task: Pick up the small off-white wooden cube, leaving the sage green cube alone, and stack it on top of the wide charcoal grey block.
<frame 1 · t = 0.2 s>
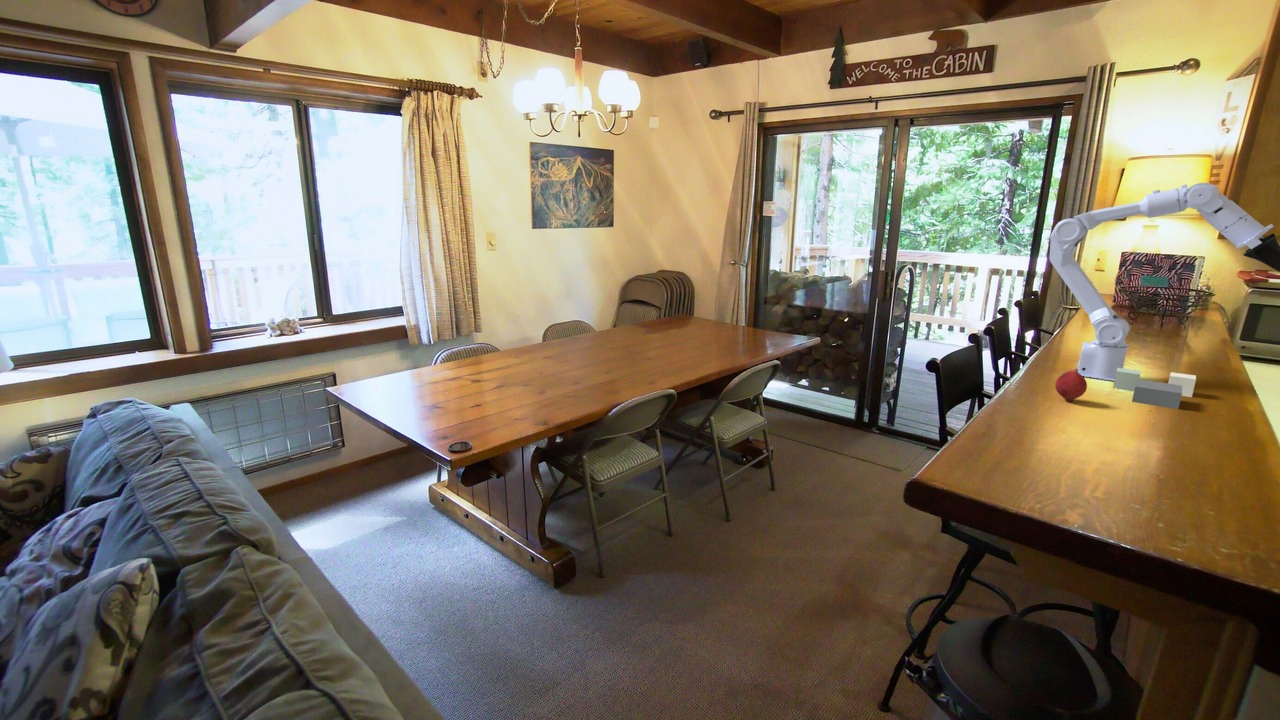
base block: (1155, 402, 134), on the bar counter
sage block: (1125, 388, 145), on the bar counter
onion: (1068, 401, 135), on the bar counter
cream block: (1179, 393, 140), on the bar counter
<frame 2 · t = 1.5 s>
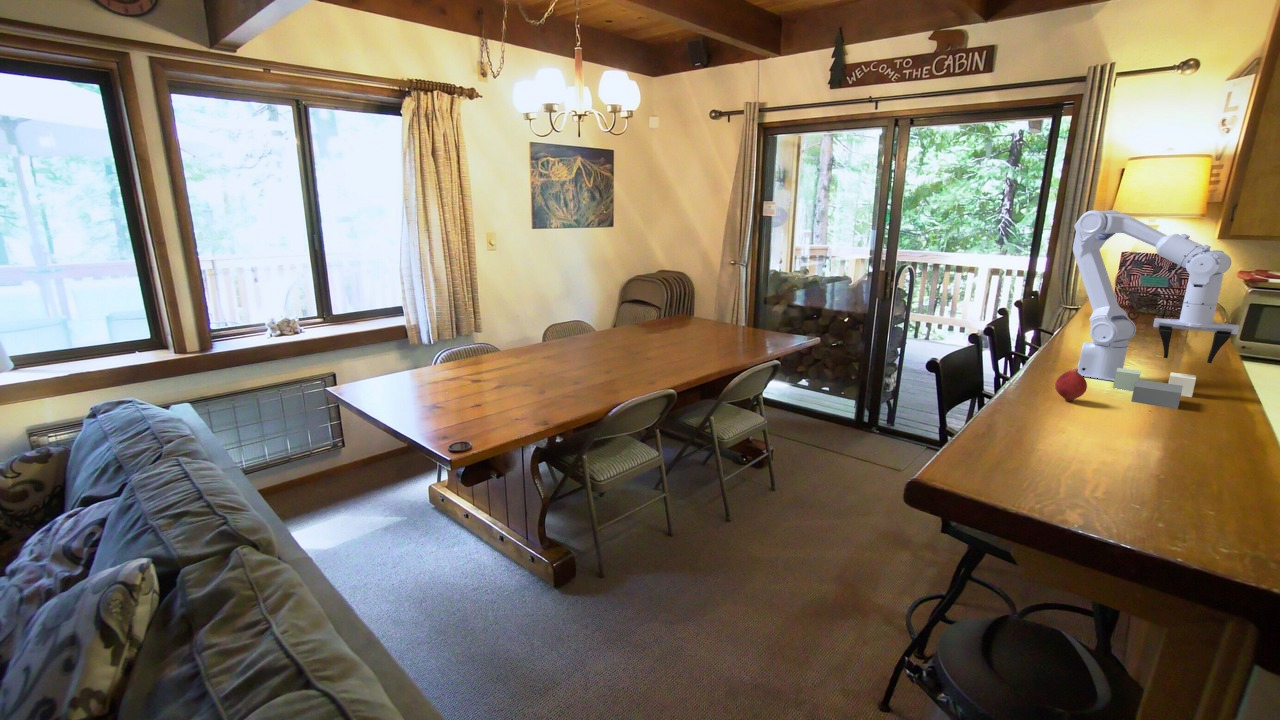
hand: (1187, 359, 138), 8 cm above the bar counter, tool pointing down, fingers open, 7 cm apart
nothing on the bar counter moved.
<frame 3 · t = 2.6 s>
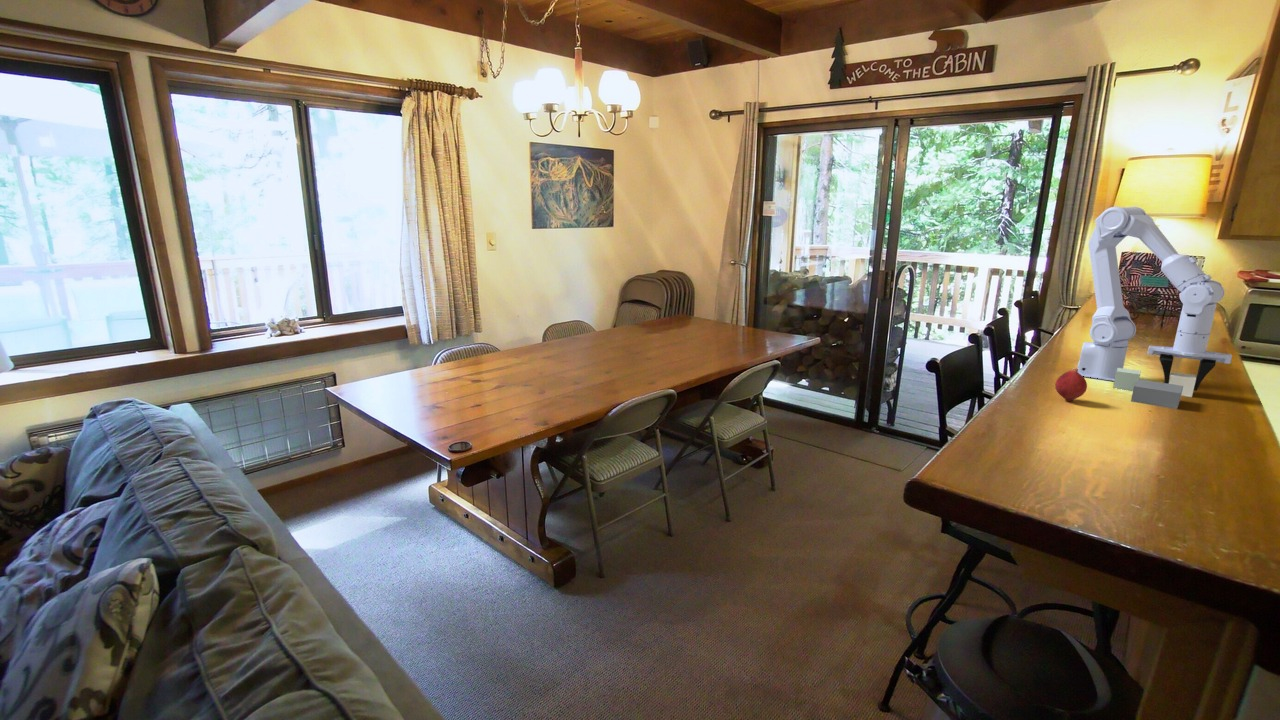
hand: (1180, 387, 140), 1 cm above the bar counter, tool pointing down, fingers closed on cream block, 4 cm apart
cream block: (1179, 393, 140), on the bar counter, touching gripper
everything else where it was.
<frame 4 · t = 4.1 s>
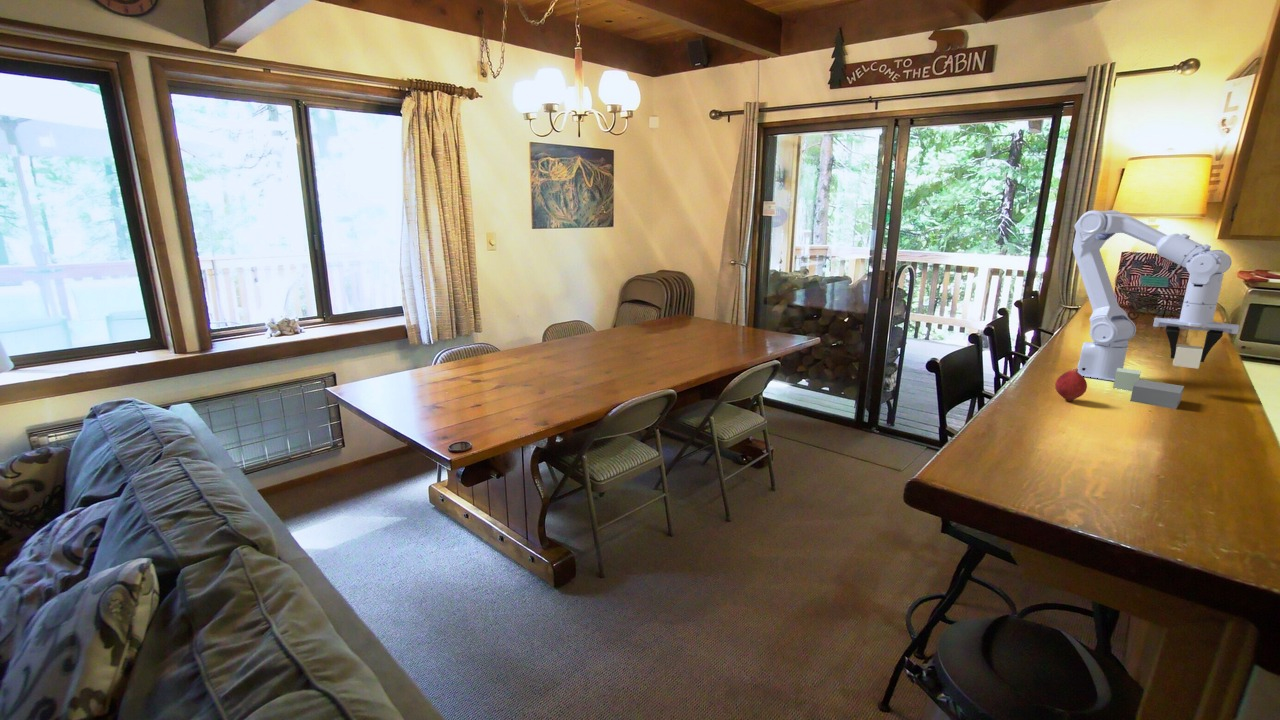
hand: (1186, 359, 138), 8 cm above the bar counter, tool pointing down, fingers closed on cream block, 4 cm apart
cream block: (1185, 365, 138), point 7 cm above the bar counter, touching gripper
everything else where it was.
when the fingers open (7 cm above the bar counter, at t = 5.7 s): cream block drops 2 cm, resting on base block.
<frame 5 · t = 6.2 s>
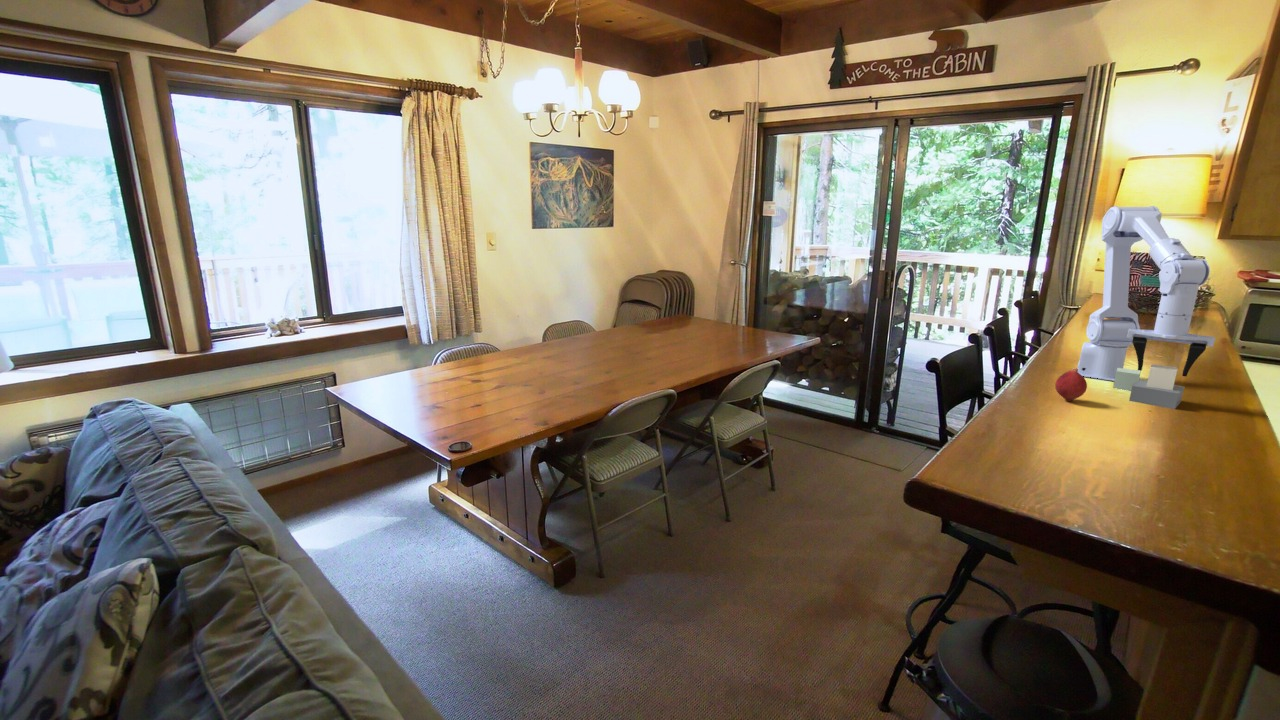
hand: (1161, 372, 133), 7 cm above the bar counter, tool pointing down, fingers open, 7 cm apart
base block: (1154, 402, 134), on the bar counter, touching cream block
cream block: (1159, 386, 133), point 4 cm above the bar counter, touching base block
everything else where it was.
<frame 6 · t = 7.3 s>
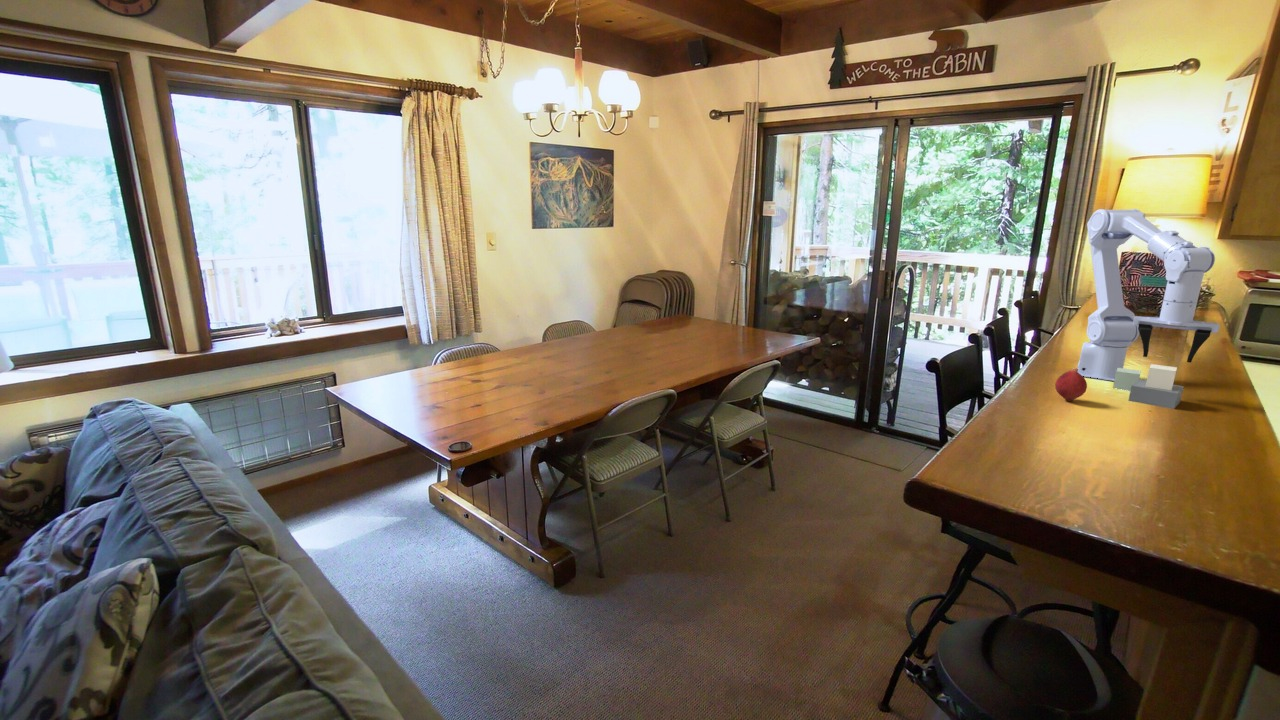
hand: (1166, 358, 135), 9 cm above the bar counter, tool pointing down, fingers open, 7 cm apart
base block: (1153, 402, 134), on the bar counter
cream block: (1159, 386, 133), point 4 cm above the bar counter
everything else where it was.
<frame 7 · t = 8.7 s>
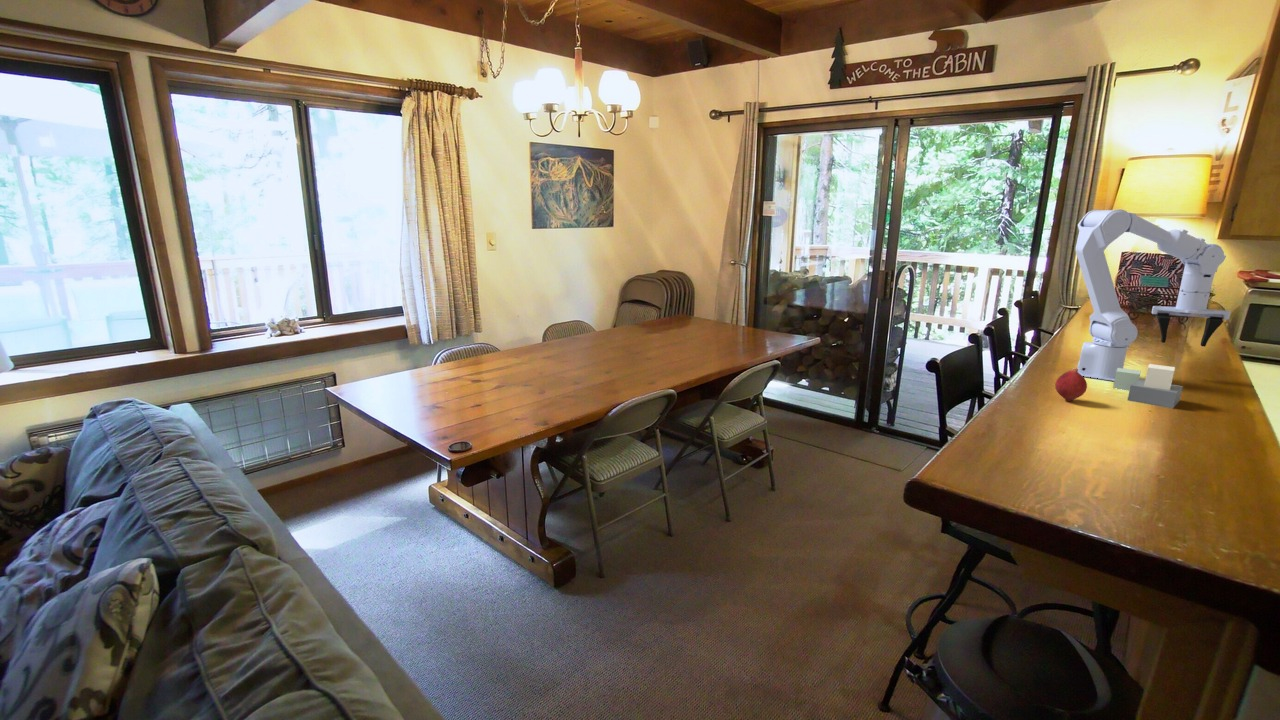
hand: (1182, 343, 150), 9 cm above the bar counter, tool pointing down, fingers open, 7 cm apart
base block: (1153, 402, 135), on the bar counter, touching cream block
cream block: (1157, 386, 133), point 4 cm above the bar counter, touching base block
everything else where it was.
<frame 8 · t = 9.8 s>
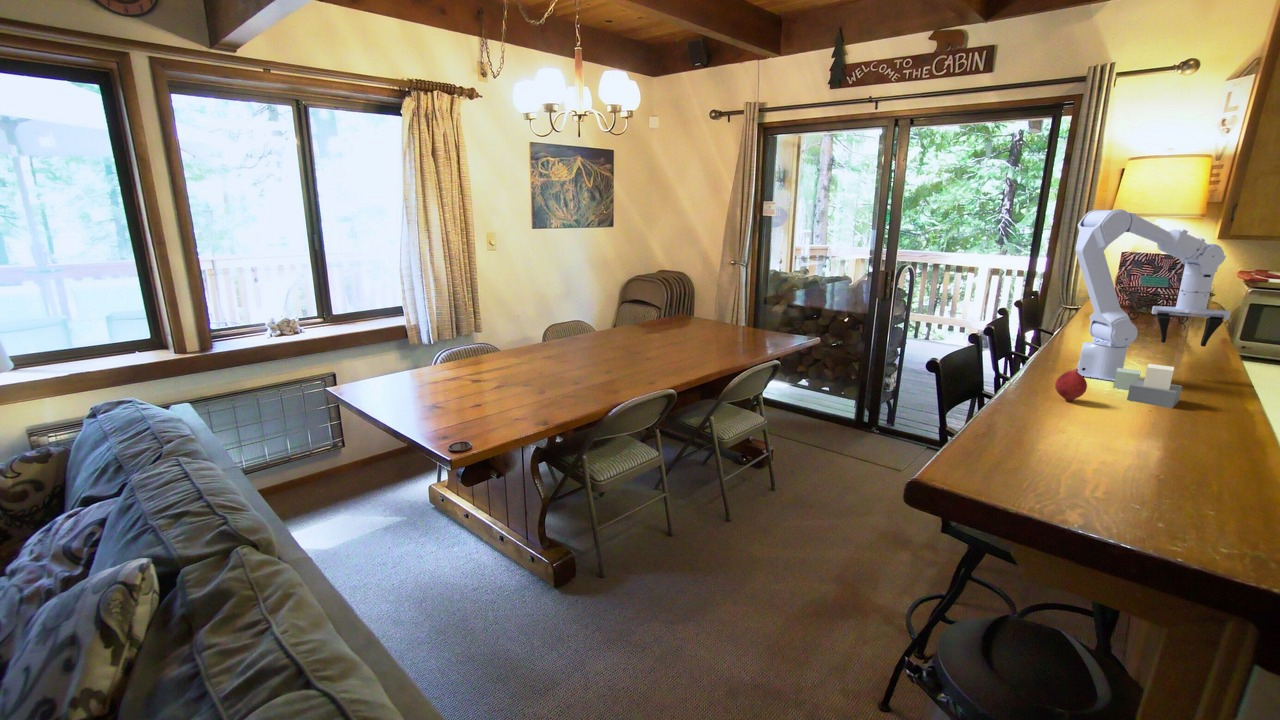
hand: (1182, 343, 150), 9 cm above the bar counter, tool pointing down, fingers open, 7 cm apart
nothing on the bar counter moved.
at the end: cream block 0.3 cm off-centre on the base block, point 4.0 cm above the base block's base; cream block tilted 0°; the gripper is holding nothing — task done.
